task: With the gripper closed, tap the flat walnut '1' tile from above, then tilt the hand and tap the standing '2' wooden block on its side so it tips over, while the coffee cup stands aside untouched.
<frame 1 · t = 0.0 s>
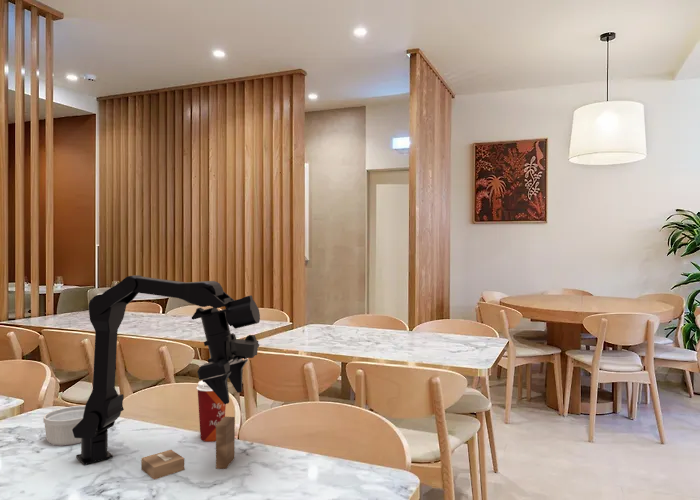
hand: (233, 397, 117), 15 cm above the table, tool pointing down, fingers open, 9 cm apart
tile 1: (162, 471, 113), on the table
ramekin: (72, 439, 133), on the table
wooden block 2: (225, 463, 117), on the table
coffee cup: (212, 438, 133), on the table
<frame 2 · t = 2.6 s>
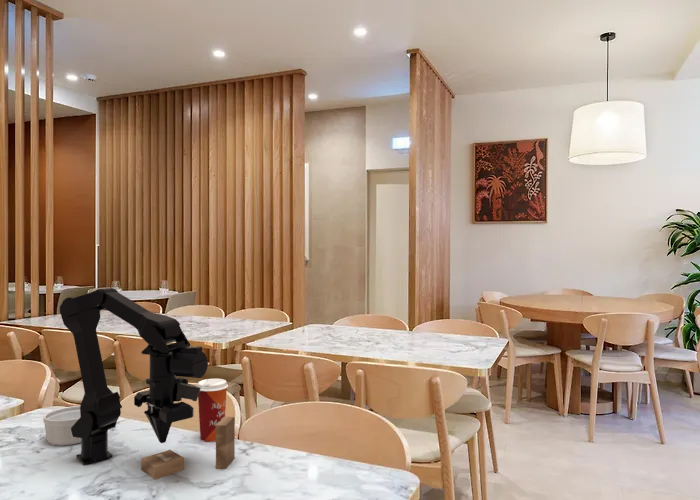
hand: (162, 442, 113), 6 cm above the table, tool pointing down, fingers closed
nothing on the table moved.
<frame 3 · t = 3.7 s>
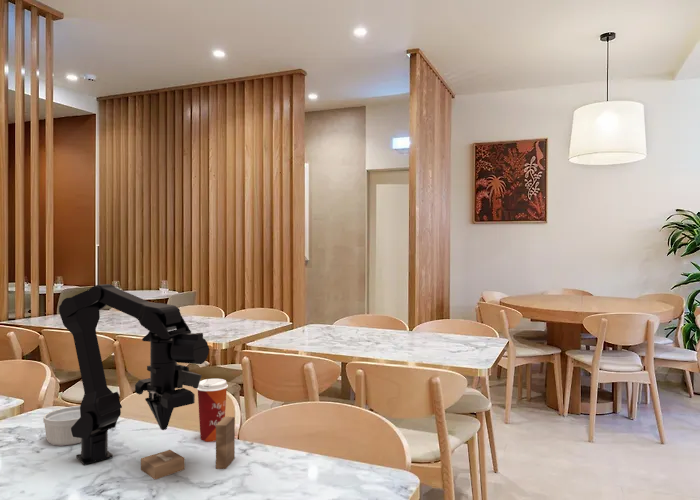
hand: (163, 429, 113), 9 cm above the table, tool pointing down, fingers closed
nothing on the table moved.
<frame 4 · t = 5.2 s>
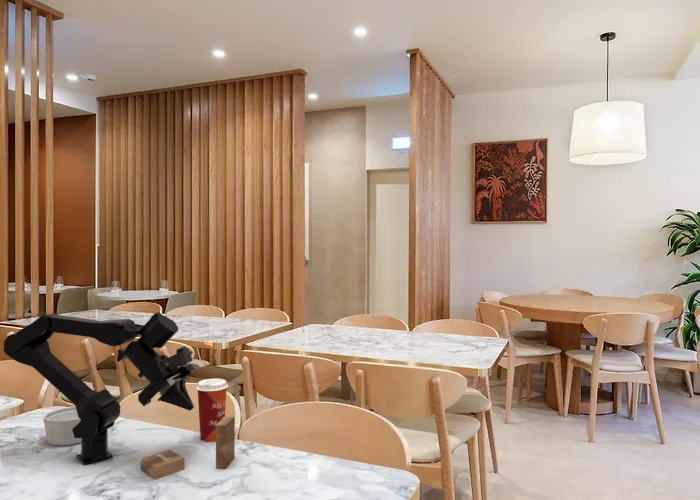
hand: (192, 408, 118), 13 cm above the table, tool tilted 45°, fingers closed
nothing on the table moved.
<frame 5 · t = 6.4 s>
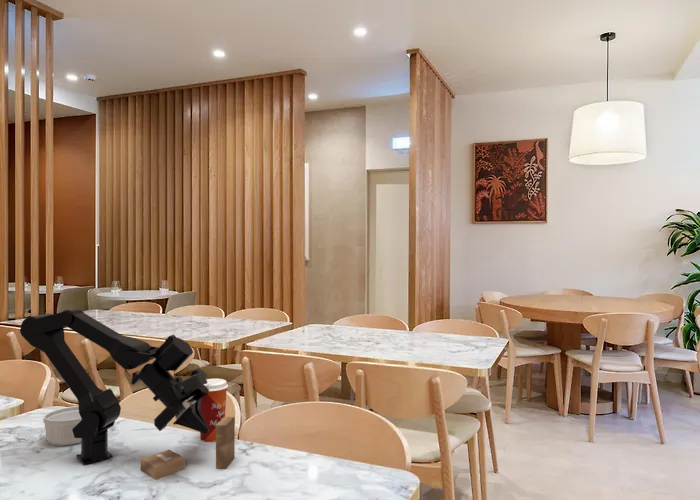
hand: (207, 431, 117), 7 cm above the table, tool tilted 45°, fingers closed
nothing on the table moved.
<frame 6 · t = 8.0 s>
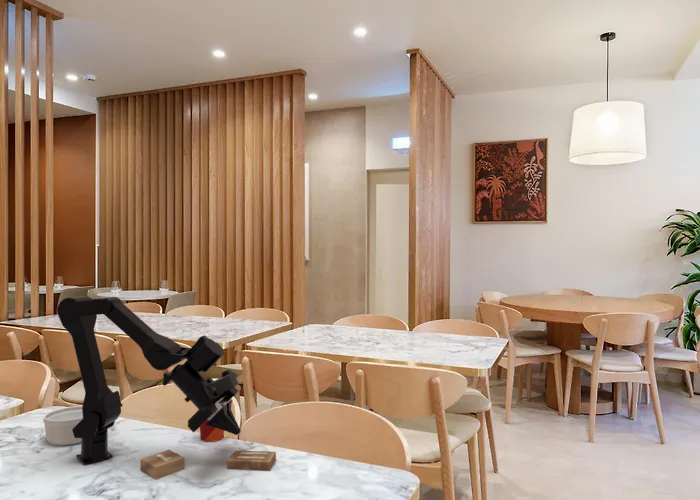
hand: (239, 433, 117), 7 cm above the table, tool tilted 45°, fingers closed
wooden block 2: (231, 460, 117), point 1 cm above the table, tilted 90°
everything else where it was.
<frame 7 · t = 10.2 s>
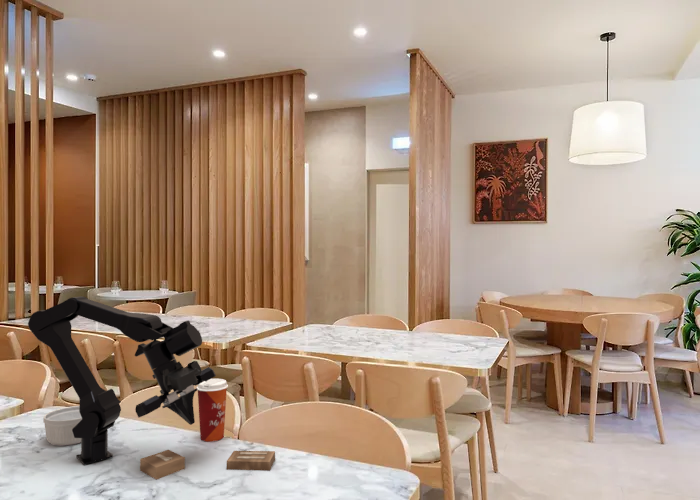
hand: (192, 423, 117), 9 cm above the table, tool tilted 25°, fingers closed
nothing on the table moved.
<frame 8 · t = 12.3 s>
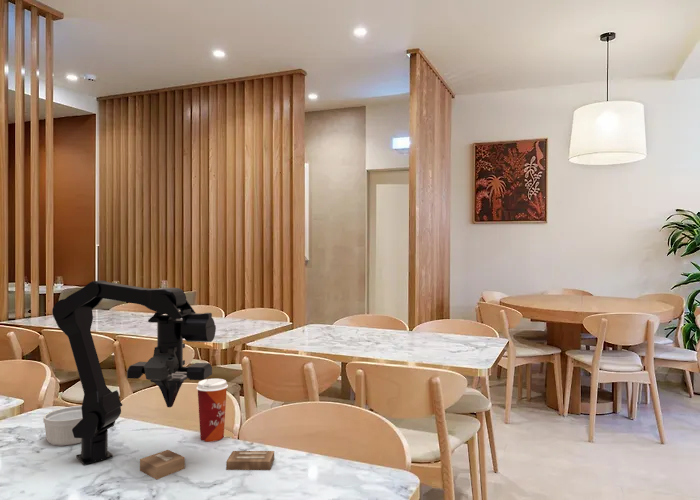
hand: (169, 406, 118), 13 cm above the table, tool pointing down, fingers closed
nothing on the table moved.
at the end: wooden block 2 tilted 90°; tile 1 moved 0.4 cm from its start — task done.
